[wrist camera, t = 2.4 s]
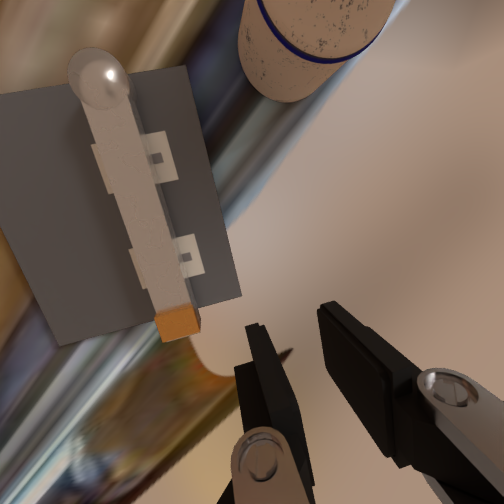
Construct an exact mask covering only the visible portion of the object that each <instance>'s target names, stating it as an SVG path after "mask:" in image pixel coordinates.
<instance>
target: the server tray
mask: <svg viewBox="0 0 504 504" xmlns="http://www.w3.org/2000/svg"><path fill="white" fill-rule="evenodd" d="M127 75H128V76H129V77H130V79H131V80H132V82H133V84H134V86H135V88H136V92H137V104H136V105H137V109H138V112H139V115H140V119H141V122H142V125H143V129H144V132H145V135H146V139H147V142H148V145H149V149H150V152H151V155H152V158H153V162H154V165H155V168H156V172H157V175H158V178H159V182H160V185H161V188H162V192H163V195H164V198H165V202H166V205H167V208H168V211H169V215H170V218H171V221H172V225H173V228H174V231H175V235H176V238H177V241H178V245H179V248H180V251H181V255H182V258H183V261H184V264H185V268H186V271H187V274H188V278H189V281H190V284H191V288H192V291H193V294H194V298H195V301H196V304H197V308H201V307H205V306H208V305H212V304H215V303H219V302H223V301H226V300H230V299H234V298H237V297H241V296H242V294H241V289H240V285H239V282H238V277H237V273H236V269H235V265H234V261H233V257H232V253H231V249H230V245H229V241H228V237H227V232H226V228H225V224H224V220H223V216H222V212H221V208H220V204H219V199H218V195H217V191H216V187H215V183H214V179H213V175H212V171H211V167H210V163H209V158H208V154H207V150H206V146H205V142H204V138H203V134H202V130H201V126H200V122H199V118H198V113H197V109H196V105H195V101H194V97H193V93H192V89H191V85H190V81H189V77H188V72H187V68H186V65H182V66H176V67H169V68H163V69H157V70H151V71H144V72H138V73H132V74H127ZM0 227H1V229H2V231H3V233H4V235H5V237H6V239H7V241H8V243H9V245H10V247H11V249H12V251H13V253H14V255H15V257H16V259H17V261H18V263H19V265H20V268H21V270H22V272H23V274H24V276H25V278H26V280H27V282H28V284H29V286H30V288H31V290H32V292H33V294H34V296H35V298H36V300H37V302H38V304H39V306H40V308H41V310H42V312H43V314H44V316H45V318H46V320H47V322H48V324H49V326H50V328H51V330H52V332H53V334H54V337H55V339H56V341H57V343H58V345H59V346H63V345H66V344H70V343H74V342H77V341H81V340H85V339H88V338H92V337H96V336H99V335H103V334H106V333H110V332H114V331H117V330H121V329H125V328H128V327H132V326H136V325H139V324H143V323H146V322H150V321H154V317H155V315H156V311H155V308H154V306H153V303H152V300H151V297H150V294H149V292H148V289H147V286H146V283H145V280H144V277H143V275H142V272H141V269H140V266H139V263H138V261H137V258H136V255H135V252H134V249H133V246H132V244H131V241H130V238H129V235H128V232H127V229H126V227H125V224H124V221H123V218H122V215H121V213H120V210H119V207H118V204H117V201H116V198H115V196H114V193H113V190H112V187H111V184H110V181H109V179H108V176H107V173H106V170H105V167H104V165H103V162H102V159H101V156H100V153H99V150H98V148H97V145H96V142H95V139H94V136H93V134H92V131H91V128H90V125H89V122H88V119H87V117H86V114H85V111H84V108H83V105H82V102H81V100H80V99H79V98H78V97H77V96H76V94H75V93H74V92H73V90H72V88H71V86H70V84H63V85H56V86H50V87H44V88H38V89H31V90H25V91H19V92H13V93H6V94H0Z"/></svg>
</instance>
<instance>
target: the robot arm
mask: <svg viewBox="0 0 504 504" xmlns="http://www.w3.org/2000/svg"><path fill="white" fill-rule="evenodd" d="M317 316H318V323H319V329H320V335H321V342H322V348H323V354H324V361H325V366H326V369H327V371H328V373H329V375H330V376H331V377H332V379H333V381H334V382H335V384H336V385H337V386H338V388H339V389H340V391H341V392H342V394H343V395H344V397H345V398H346V400H347V401H348V403H349V404H350V406H351V407H352V409H353V410H354V412H355V413H356V414H357V416H358V418H359V419H360V421H361V422H362V424H363V425H364V427H365V428H366V430H367V431H368V433H369V434H370V436H371V437H372V439H373V440H374V442H375V443H376V445H377V446H378V447H379V449H380V450H381V452H382V453H383V455H384V456H385V457H387V458H388V457H391V458H392V459H393V461H394V462H395V463H396V465H397V466H398V467H399V469H400V468H403V467H406V466H408V465H412V467H413V468H414V469H415V470H417V471H419V472H421V473H422V474H423V476H424V478H425V479H426V481H427V483H428V484H429V486H430V487H431V488H432V490H433V491H434V493H435V494H436V495H437V497H438V498H439V499H440V501H441V502H442V504H504V401H501V400H500V399H499V398H498V397H496V396H495V395H493V394H492V393H491V392H489V391H488V390H487V389H485V388H484V387H482V386H481V385H480V384H478V383H477V382H476V381H474V380H472V379H471V378H469V377H468V376H466V375H464V374H462V373H459V372H457V371H454V370H449V369H445V368H432V369H427V370H425V371H421V370H420V369H419V368H418V367H417V366H416V365H414V364H413V363H412V362H411V361H410V360H408V359H407V358H406V357H404V355H402V354H401V353H400V352H399V351H398V350H396V349H395V348H394V347H393V346H392V345H390V344H389V343H388V342H387V341H386V340H384V339H383V338H382V337H381V336H380V335H378V334H377V333H376V332H375V331H374V330H372V329H371V328H370V327H367V326H364V325H363V324H362V323H361V322H359V321H358V320H357V319H356V318H355V317H353V316H352V315H351V314H350V313H349V312H348V311H346V310H345V309H344V308H343V307H342V306H341V305H339V304H338V303H337V302H336V301H331V302H327V303H324V304H321V305H320V309H317ZM245 329H246V333H247V338H248V342H249V346H250V349H251V354H252V358H253V361H251V362H248V363H245V364H242V365H238V366H235V367H234V371H235V378H236V385H237V391H238V398H239V404H240V410H241V417H242V423H243V430H244V435H243V436H242V437H241V438H240V439H239V440H238V442H237V443H236V445H235V446H234V449H233V452H232V455H231V473H232V479H231V481H230V482H229V484H228V486H227V487H226V489H225V491H224V492H223V494H222V495H221V497H220V499H219V500H218V502H217V504H315V499H314V494H313V489H312V486H315V483H314V478H313V473H312V468H311V463H310V458H309V453H308V448H307V443H306V438H305V433H304V428H303V424H302V418H301V414H300V410H299V406H298V403H297V400H296V397H295V394H294V392H293V390H292V387H291V385H290V383H289V380H288V378H287V376H286V374H285V371H284V369H283V367H282V364H281V362H280V360H279V357H278V355H277V353H276V350H275V348H274V346H273V344H272V341H271V339H270V337H269V334H268V332H267V330H266V328H265V325H262V326H259V324H258V323H255V324H251V325H248V326H245Z"/></svg>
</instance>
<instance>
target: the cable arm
mask: <svg viewBox="0 0 504 504" xmlns="http://www.w3.org/2000/svg"><path fill="white" fill-rule="evenodd" d="M67 73H68V80H69V84H70V86H71V88H72V90H73V92H74V93H75V94H76V96H77V97H78V98H79V99H80V100H81V102H82V105H83V108H84V111H85V114H86V117H87V119H88V122H89V125H90V128H91V131H92V134H93V136H94V139H95V142H96V145H97V148H98V150H99V153H100V156H101V159H102V162H103V165H104V167H105V170H106V173H107V176H108V179H109V181H110V184H111V187H112V190H113V193H114V196H115V198H116V201H117V204H118V207H119V210H120V213H121V215H122V218H123V221H124V224H125V227H126V229H127V232H128V235H129V238H130V241H131V244H132V246H133V249H134V252H135V255H136V258H137V261H138V263H139V266H140V269H141V272H142V275H143V277H144V280H145V283H146V286H147V289H148V292H149V294H150V297H151V300H152V303H153V306H154V308H155V311H156V315H155V317H154V320H155V322H156V325H157V328H158V331H159V334H160V336H161V339H162V342H169V341H172V340H176V339H179V338H183V337H186V336H190V335H193V334H197V333H200V328H201V318H200V314H199V311H198V308H197V304H196V301H195V298H194V294H193V291H192V288H191V284H190V281H189V278H188V274H187V271H186V268H185V264H184V261H183V258H182V255H181V251H180V248H179V245H178V241H177V238H176V235H175V231H174V228H173V225H172V221H171V218H170V215H169V211H168V208H167V205H166V202H165V198H164V195H163V192H162V188H161V185H160V182H159V178H158V175H157V172H156V168H155V165H154V162H153V158H152V155H151V152H150V149H149V145H148V142H147V139H146V135H145V132H144V129H143V125H142V122H141V119H140V115H139V112H138V109H137V105H136V104H137V92H136V88H135V86H134V84H133V82H132V80H131V79H130V77H129V76H128V75H127V73H126V72H125V70H124V69H123V67H122V66H121V64H120V63H119V62H118V60H117V59H116V58H115V57H114V56H113V55H111V54H110V53H108V52H107V51H105V50H102V49H99V48H93V47H90V48H84V49H81V50H79V51H78V52H76V53H75V54H74V55H73V56H72V58H71V59H70V62H69V64H68V71H67Z"/></svg>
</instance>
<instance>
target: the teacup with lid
mask: <svg viewBox="0 0 504 504" xmlns="http://www.w3.org/2000/svg"><path fill="white" fill-rule="evenodd" d="M394 3H395V0H245V3H244V8H243V13H242V18H241V23H240V28H239V34H238V52H239V58H240V62H241V65H242V68H243V70H244V72H245V74H246V76H247V78H248V80H249V81H250V83H251V84H252V85H253V86H254V87H255V88H256V89H257V90H258V91H259V92H260V93H261V94H263V95H264V96H266V97H268V98H270V99H272V100H275V101H278V102H295V101H299V100H301V99H303V98H305V97H307V96H309V95H310V94H311V93H313V92H314V91H315V90H316V89H317V88H318V87H319V86H320V85H321V84H323V83H324V82H325V81H326V80H327V79H328V78H329V77H330V76H331V75H332V74H333V73H334V72H336V71H337V70H338V69H339V68H340V67H341V66H342V65H343V64H344V63H345V62H346V61H347V60H349V59H351V58H353V57H355V56H357V55H358V54H360V53H361V52H362V51H364V50H365V49H366V48H367V47H368V46H369V45H370V44H371V43H372V42H373V41H374V40H375V39H376V37H377V36H378V35H379V33H380V32H381V30H382V29H383V27H384V25H385V23H386V21H387V19H388V17H389V15H390V13H391V11H392V9H393V6H394Z"/></svg>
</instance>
